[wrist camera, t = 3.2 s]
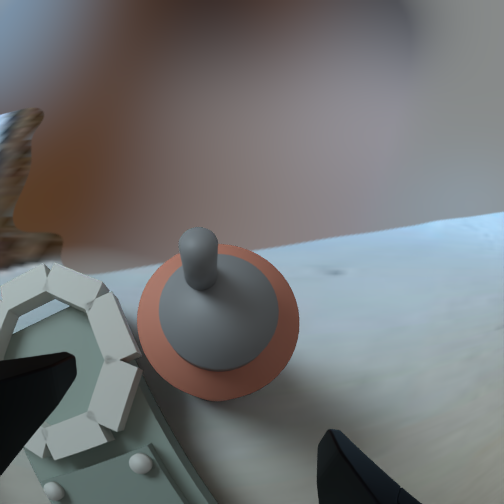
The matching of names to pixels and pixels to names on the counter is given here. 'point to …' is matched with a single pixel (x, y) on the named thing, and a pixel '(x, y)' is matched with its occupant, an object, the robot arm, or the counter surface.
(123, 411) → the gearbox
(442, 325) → the counter surface
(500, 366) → the counter surface
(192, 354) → the oil can
